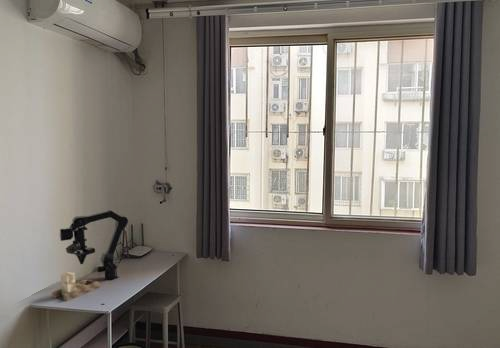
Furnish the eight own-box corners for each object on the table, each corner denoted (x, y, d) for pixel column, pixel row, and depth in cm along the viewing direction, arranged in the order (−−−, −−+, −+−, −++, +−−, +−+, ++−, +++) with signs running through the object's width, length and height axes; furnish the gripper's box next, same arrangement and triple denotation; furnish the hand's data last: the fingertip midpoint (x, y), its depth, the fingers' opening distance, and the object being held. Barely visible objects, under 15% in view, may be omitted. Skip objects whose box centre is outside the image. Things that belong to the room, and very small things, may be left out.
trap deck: (85, 284, 249) (85, 279, 249) (100, 287, 243) (99, 282, 243) (52, 297, 230) (51, 292, 230) (67, 300, 224) (66, 295, 224)
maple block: (70, 287, 235) (68, 272, 235) (76, 289, 233) (74, 273, 232) (62, 290, 231) (60, 274, 230) (68, 292, 229) (66, 275, 228)
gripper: (57, 240, 245) (59, 266, 246) (78, 242, 236) (81, 270, 237) (73, 235, 255) (75, 261, 256) (94, 238, 246) (97, 264, 247)
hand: (81, 264), depth 249 cm, fingers closed
